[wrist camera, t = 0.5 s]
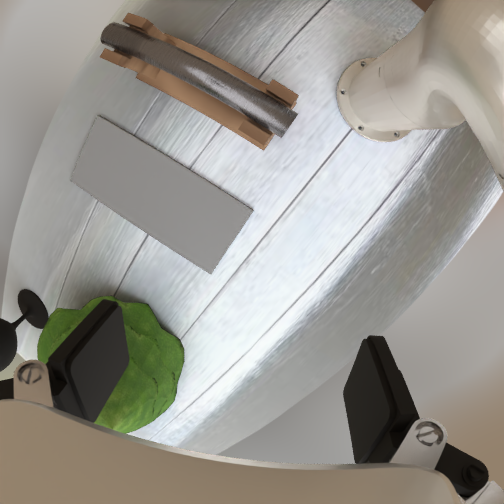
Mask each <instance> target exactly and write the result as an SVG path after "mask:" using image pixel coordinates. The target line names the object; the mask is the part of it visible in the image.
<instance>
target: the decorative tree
mask: <svg viewBox="0 0 504 504" xmlns="http://www.w3.org/2000/svg"><path fill="white" fill-rule="evenodd" d="M103 299H107V300H112V301H116V302H117V303H118V305H119V306H121V308H122V313H123V320H124V327H125V333H126V340H127V346H128V351H129V357H130V360H129V365H128V367H127V368H126V370H125V372H124V373H123V375H122V377H121V378H120V380H119V382H118V383H117V385H116V387H115V388H114V390H113V392H112V394H111V395H110V397H109V399H108V400H107V402H106V404H105V406H104V407H103V409H102V411H101V413H100V414H99V416H98V418H97V420H96V421H95V422H94V423H95V424H98V425H101V426H104V427H107V428H109V429H112V430H115V431H118V432H122V433H125V434H126V433H129V432H132V431H135V430H138V429H140V428H141V427H143V426H146V425H147V424H149V423H151V422H152V421H154V420H155V419H156V418H157V417H159V416H160V415H161V414H162V413H164V412H165V411H166V410H167V409H168V408H169V407H170V405H171V404H172V403H173V402H174V400H175V397H176V393H177V383H178V380H179V377H180V374H181V371H182V367H183V364H184V348H183V345H182V343H181V341H180V339H178V338H177V337H175V336H173V335H171V334H169V333H168V332H166V331H165V330H163V329H161V327H160V325H159V323H158V321H157V319H156V317H155V315H154V314H153V312H152V310H151V309H150V307H149V305H148V304H143V303H124V302H122V301H120V300H118V299H117V298H115V297H113V296H101V297H98V298H95V299H92V300H91V301H90V302H89V303H87V304H86V305H85V306H84V307H83V308H82V309H81V310H75V309H63V308H57V309H56V310H55V311H54V312H53V313H52V314H51V315H50V317H49V319H48V321H47V323H46V325H45V327H44V329H43V331H42V333H41V335H40V338H39V342H38V345H37V353H38V360H39V361H41V362H43V363H44V364H46V363H47V362H48V358H49V357H50V356H51V354H52V353H53V352H54V351H55V350H56V349H57V348H58V347H59V345H60V344H61V343H62V342H63V341H64V340H65V339H66V338H67V337H68V336H69V334H70V333H71V332H72V331H73V330H74V329H75V328H76V327H77V326H78V325H79V324H80V323H81V322H82V320H83V319H84V318H85V317H86V316H87V315H88V314H89V313H90V312H91V311H92V310H93V309H94V308H95V307H96V306H97V305H98V304H99V303H100V302H101V301H102V300H103Z"/></svg>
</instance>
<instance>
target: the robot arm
mask: <svg viewBox="0 0 504 504" xmlns="http://www.w3.org/2000/svg"><path fill="white" fill-rule="evenodd" d="M361 64H363V67H362V66H361ZM341 91H343V92H344V94H341ZM337 102H338V107H339V109H340V112H341V114H342V116H343V118H344V119H345V121H346V122H347V124H348V125H349V126H350V127H351V128H352V129H353V130H354V131H355V132H357V133H358V134H359V135H361V136H363V137H365V138H367V139H370V140H372V141H377V142H392V141H396V140H399V139H401V138H403V137H404V136H406V135H407V134H408V133H409V132H410V131H411V130H429V129H448V128H453V127H456V126H458V125H460V124H461V123H463V122H464V121H465V120H467V122H468V124H469V126H470V127H471V129H472V131H473V132H474V134H475V135H476V136H477V138H478V140H479V142H480V143H481V145H482V147H483V149H484V151H485V153H486V155H487V157H488V159H489V161H490V163H491V165H492V167H493V169H494V172H495V174H496V176H497V178H498V180H499V182H500V184H501V187H502V189H503V191H504V0H435V1H434V2H433V3H432V4H431V6H430V7H429V8H428V10H427V11H426V13H425V14H424V16H423V17H422V19H421V20H420V22H419V23H418V24H417V25H416V27H415V28H414V29H413V30H412V31H411V32H410V33H408V34H407V35H406V36H405V37H404V38H402V39H401V40H400V41H399V42H397V43H396V44H395V45H393V46H392V47H391V48H389V49H388V50H387V51H385V52H384V53H383V54H382V55H380V56H379V57H378V58H365V59H361V60H358V61H356V62H354V63H353V64H351V65H350V66H349V67H348V68H347V69H346V70H345V71H344V72H343V74H342V75H341V77H340V79H339V82H338V86H337ZM359 126H360V127H361V129H360V130H359V129H358V127H359ZM394 133H396V136H395V135H394ZM129 360H130V357H129V351H128V346H127V340H126V333H125V327H124V320H123V313H122V308H121V306H119V305H118V303H117V302H116V301H112V300H107V299H103V300H102V301H101V302H100V303H99V304H98V305H97V306H96V307H95V308H94V309H93V310H92V311H91V312H90V313H89V314H88V315H87V316H86V317H85V318H84V319H83V320H82V322H81V323H80V324H79V325H78V326H77V327H76V328H75V329H74V330H73V331H72V332H71V333H70V334H69V336H68V337H67V338H66V339H65V340H64V341H63V342H62V343H61V344H60V345H59V347H58V348H57V349H56V350H55V351H54V352H53V353H52V354H51V356H50V357H49V358H48V362H47V363H46V364H44V363H43V362H41V361H39V360H28V361H25V362H23V363H21V364H20V365H19V366H18V367H17V368H16V370H15V371H14V378H11V379H7V380H2V381H0V504H504V491H503V489H501V488H500V487H499V486H498V485H497V484H496V483H495V482H494V481H492V482H489V481H488V477H489V475H488V470H487V468H486V466H485V465H484V464H483V463H482V462H481V461H479V460H477V459H475V458H474V457H472V456H470V455H468V454H466V453H464V452H462V451H460V450H459V449H457V448H455V447H453V446H452V445H450V444H448V443H446V441H447V432H446V430H445V428H444V426H443V425H442V424H441V423H439V422H438V421H436V420H433V419H431V418H422V419H420V418H419V415H418V412H417V410H416V407H415V405H414V402H413V400H412V397H411V395H410V392H409V390H408V387H407V385H406V383H405V380H404V378H403V375H402V373H401V371H400V370H398V367H397V365H396V363H395V360H394V358H393V356H392V354H391V351H390V349H389V347H388V344H387V342H386V340H385V338H384V337H383V336H372V335H370V336H368V337H367V339H363V341H362V343H361V346H360V349H359V352H358V354H357V357H356V360H355V362H354V365H353V367H352V370H351V372H350V375H349V378H348V380H347V382H346V385H345V387H344V392H343V395H344V402H345V407H346V412H347V418H348V424H349V429H350V435H351V441H352V447H353V454H354V460H355V463H356V464H293V463H276V462H265V461H255V460H246V459H238V458H230V457H224V456H218V455H212V454H206V453H201V452H195V451H191V450H186V449H181V448H177V447H172V446H168V445H164V444H160V443H156V442H152V441H149V440H145V439H141V438H138V437H135V436H131V435H128V434H125V433H122V432H118V431H115V430H112V429H109V428H107V427H104V426H101V425H98V424H95V423H94V422H95V421H96V420H97V418H98V416H99V414H100V413H101V411H102V409H103V407H104V406H105V404H106V402H107V400H108V399H109V397H110V395H111V394H112V392H113V390H114V388H115V387H116V385H117V383H118V382H119V380H120V378H121V377H122V375H123V373H124V372H125V370H126V368H127V367H128V365H129Z"/></svg>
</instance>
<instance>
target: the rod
mask: <svg viewBox="0 0 504 504" xmlns="http://www.w3.org/2000/svg"><path fill="white" fill-rule="evenodd" d="M101 42H102V44H105V45H107V46H109V47H112V48H114V49H117V50H119V51H121V52H124V53H126V54H128V55H131V56H133V57H135V58H137V59H140V60H142V61H144V62H146V63H148V64H151V65H153V66H155V67H157V68H159V69H161V70H163V71H165V72H167V73H169V74H171V75H173V76H175V77H177V78H179V79H181V80H183V81H185V82H187V83H189V84H191V85H193V86H194V87H196V88H198V89H200V90H202V91H204V92H206V93H207V94H209V95H211V96H213V97H215V98H216V99H218V100H220V101H222V102H223V103H225V104H227V105H229V106H230V107H232V108H234V109H235V110H237V111H239V112H241V113H242V114H244V115H245V116H247V117H249V118H250V119H252V120H254V121H255V122H257V123H259V124H260V125H262V126H263V127H265V128H266V129H268V130H270V131H271V132H273V133H274V134H276V135H277V136H279V137H280V138H282V136H283V135H284V134H285V132H286V131H287V129H288V128H289V126H290V125H291V124H292V122H293V121H294V119H295V118H296V116H297V115H298V114H297V113H296V112H294V111H293V110H291V109H290V108H288V107H287V106H285V105H283V104H282V103H280V102H279V101H277V100H275V99H274V98H272V97H271V96H269V95H267V94H266V93H264V92H262V91H261V90H259V89H257V88H256V87H254V86H252V85H250V84H249V83H247V82H245V81H243V80H242V79H240V78H238V77H236V76H234V75H232V74H231V73H229V72H227V71H225V70H223V69H221V68H219V67H217V66H216V65H214V64H212V63H210V62H208V61H206V60H204V59H202V58H200V57H198V56H195V55H193V54H191V53H189V52H187V51H185V50H183V49H181V48H178V47H176V46H174V45H172V44H169V43H167V42H165V41H162V40H160V39H158V38H155V37H153V36H150V35H148V34H145V33H143V32H140V31H138V30H135V29H132V28H130V27H127V26H124V25H121V24H119V23H115V22H113V23H111V24H109V25H108V26H107V27H106V28H105V29H104V30H103V32H102V35H101Z"/></svg>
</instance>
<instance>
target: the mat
mask: <svg viewBox="0 0 504 504" xmlns="http://www.w3.org/2000/svg"><path fill="white" fill-rule="evenodd" d="M70 181H71V182H73V183H74V184H76V185H77V186H78V187H80V188H81V189H83V190H84V191H86V192H87V193H88V194H90V195H91V196H93V197H94V198H96V199H97V200H98V201H100V202H101V203H103V204H104V205H106V206H107V207H109V208H110V209H112V210H113V211H114V212H116V213H117V214H119V215H120V216H122V217H123V218H125V219H126V220H128V221H129V222H131V223H132V224H134V225H135V226H137V227H138V228H140V229H141V230H143V231H144V232H146V233H147V234H149V235H150V236H152V237H153V238H155V239H156V240H158V241H159V242H161V243H162V244H164V245H165V246H167V247H169V248H170V249H172V250H173V251H175V252H176V253H178V254H179V255H181V256H182V257H184V258H186V259H187V260H189V261H190V262H192V263H193V264H195V265H197V266H198V267H200V268H201V269H203V270H205V271H206V272H208V273H209V274H212V272H213V271H214V269H215V268H216V266H217V265H218V263H219V261H220V260H221V258H222V257H223V255H224V254H225V252H226V251H227V249H228V248H229V246H230V245H231V243H232V242H233V240H234V239H235V237H236V236H237V234H238V233H239V231H240V230H241V229H242V227H243V226H244V224H245V223H246V221H247V220H248V218H249V217H250V215H251V214H252V212H253V210H252V209H251V208H249V207H248V206H246V205H245V204H243V203H242V202H240V201H239V200H237V199H235V198H234V197H232V196H231V195H229V194H228V193H226V192H224V191H223V190H221V189H220V188H218V187H217V186H215V185H213V184H212V183H210V182H209V181H207V180H206V179H204V178H202V177H201V176H199V175H198V174H196V173H194V172H193V171H191V170H190V169H188V168H186V167H185V166H183V165H181V164H180V163H178V162H177V161H175V160H173V159H172V158H170V157H168V156H167V155H165V154H164V153H162V152H160V151H159V150H157V149H155V148H154V147H152V146H150V145H149V144H147V143H145V142H144V141H142V140H140V139H139V138H137V137H135V136H133V135H132V134H130V133H128V132H127V131H125V130H123V129H122V128H120V127H118V126H116V125H115V124H113V123H111V122H110V121H108V120H106V119H104V118H103V117H101V116H97V118H96V120H95V122H94V124H93V126H92V128H91V131H90V133H89V135H88V137H87V139H86V142H85V144H84V146H83V149H82V151H81V153H80V156H79V158H78V161H77V163H76V166H75V168H74V171H73V174H72V176H71V179H70Z"/></svg>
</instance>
